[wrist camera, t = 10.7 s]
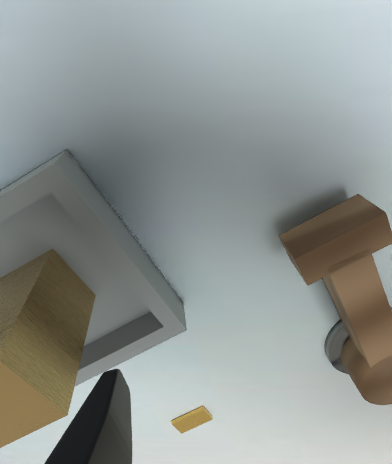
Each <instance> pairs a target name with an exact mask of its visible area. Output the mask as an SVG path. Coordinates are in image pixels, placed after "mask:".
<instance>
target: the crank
mask: <svg viewBox="0 0 392 464" xmlns="http://www.w3.org/2000/svg"><path fill="white" fill-rule="evenodd" d="M279 238H280V240H281V242H282V244H283V246H284V248H285V250H286V252H287V254H288V256H289V258H290V260H291V261H292V263H293V264H294V266H295V267H296V269H297V270H298V272H299V273H300V275H301V276H302V278H303V279H304V281H305V282H306V284H307V285H310V284H312V283H314V282H316V281H318V280H320V279H322V278H323V280H324V282H325V284H326V286H327V288H328V291H329V293H330V295H331V297H332V299H333V302H334V304H335V306H336V308H337V310H338V313H339V315H340V317H341V319H342V321H343V324H344V326H345V328H346V330H347V332H348V334H349V337H350V338H349V339H348V341H347V342H346V343H345V345H344V346H343V348H342V351H341V362H342V364H343V366H344V367H345V369H346V370H347V372H348V374H349V375H350V377H351V379H352V380H353V382H354V383H355V385H356V387H357V388H358V390H359V392H360V393H361V395H362V396H363V398H364V399H365V400H366V401H368V402H370V403H373V404H377V405H387V404H392V312H391V309H390V306H389V303H388V300H387V297H386V294H385V291H384V288H383V286H382V283H381V280H380V277H379V274H378V271H377V268H376V265H375V263H374V260H373V257H372V253H374V252H376V251H378V250H380V249H382V248H384V247H386V246H388V245H390V244H392V231H391V228H390V225H389V221H388V218H387V215H386V212H384V211H383V210H381V209H380V208H378V207H377V206H375V205H374V204H372V203H371V202H369V201H368V200H366V199H365V198H364V197H362V196H361V195H359V194H357V195H355V196H353V197H351V198H349V199H348V200H346V201H344V202H342V203H340V204H338V205H336V206H334V207H332V208H330V209H329V210H327V211H325V212H323V213H321V214H319V215H317V216H315V217H313V218H311V219H310V220H308V221H306V222H304V223H302V224H300V225H298V226H296V227H294V228H292V229H291V230H289V231H287V232H285V233H283V234H281V235H279Z"/></svg>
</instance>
